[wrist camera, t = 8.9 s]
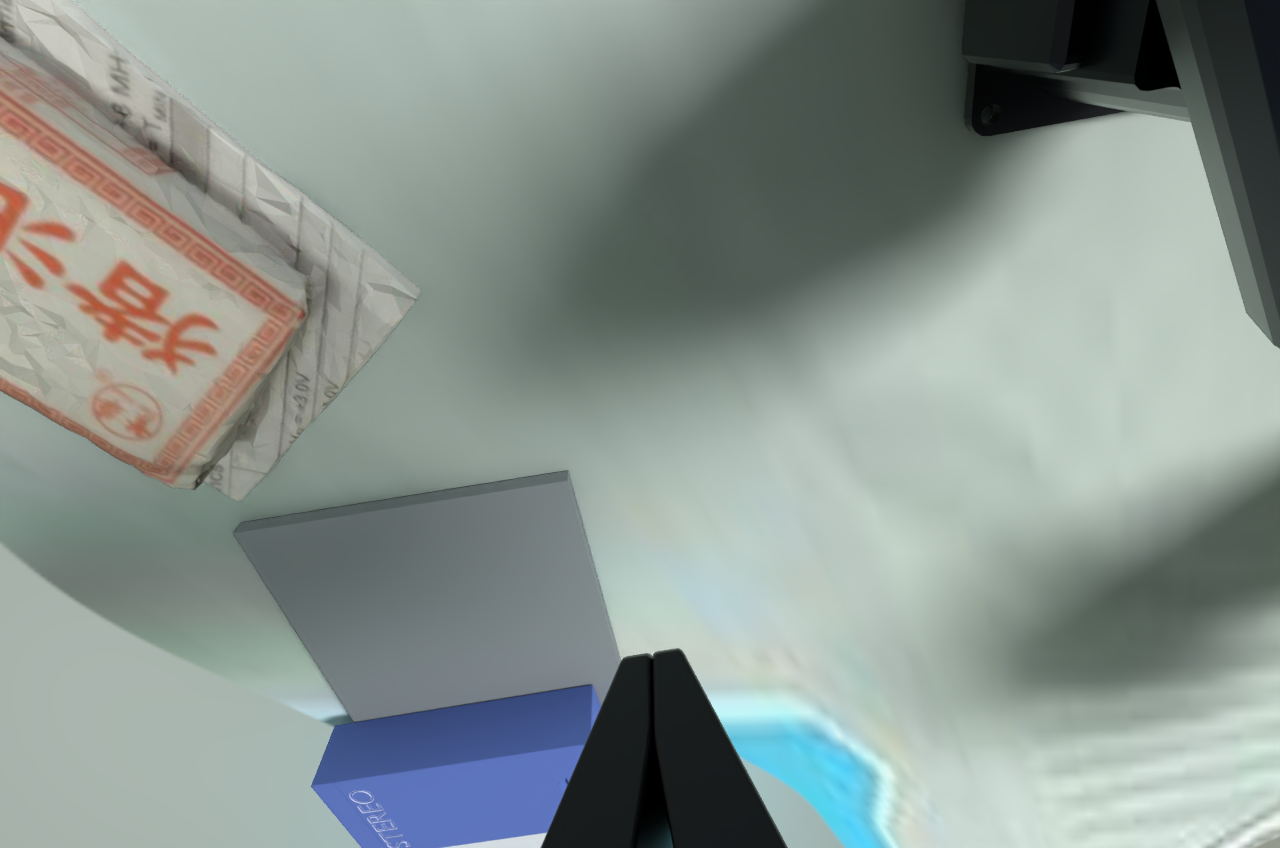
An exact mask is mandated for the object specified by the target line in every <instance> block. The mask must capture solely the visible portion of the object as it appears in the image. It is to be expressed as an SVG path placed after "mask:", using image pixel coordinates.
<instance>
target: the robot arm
mask: <svg viewBox="0 0 1280 848" xmlns="http://www.w3.org/2000/svg"><path fill="white" fill-rule="evenodd" d="M962 55H963V56H964V57H965V58H966V59H967V60H968V61H969V66H968V78H967V91H966V103H965V115H964V118H965V125H966V127H967V128H968V130H969V131H971V132H973V133H975V134H978V135H981V136H992V135H997V134H1003V133H1008V132H1014V131H1019V130H1025V129H1030V128H1036V127H1041V126H1047V125H1052V124H1058V123H1063V122H1069V121H1074V120H1080V119H1085V118H1091V117H1096V116H1102V115H1107V114H1113V113H1118V112H1124V111H1131V112H1136V113H1142V114H1148V115H1153V116H1159V117H1164V118H1170V119H1176V120H1181V121H1187V122H1191V124H1192V127H1193V130H1194V134H1195V137H1196V141H1197V144H1198V148H1199V151H1200V155H1201V158H1202V162H1203V165H1204V168H1205V172H1206V175H1207V179H1208V182H1209V186H1210V189H1211V193H1212V196H1213V200H1214V203H1215V206H1216V210H1217V213H1218V217H1219V220H1220V224H1221V227H1222V231H1223V234H1224V237H1225V241H1226V244H1227V248H1228V251H1229V255H1230V258H1231V262H1232V265H1233V269H1234V272H1235V275H1236V279H1237V282H1238V286H1239V289H1240V293H1241V296H1242V300H1243V303H1244V307H1245V310H1246V313H1247V314H1248V315H1249V317H1250V318H1251V319H1252V320H1253V321H1254V322H1255V324H1256V325H1257V326H1258V327H1259V328H1260V329H1261V331H1262V332H1263V333H1264V334H1265V335H1266V336H1267V337H1268V339H1269V340H1270V341H1271V342H1272V343H1273V344H1274V345H1275V346H1277V347H1278V348H1280V0H966V1H965V14H964V27H963V41H962ZM990 105H992V106H993V110H994V112H993V115H992V118H991V119H990V120H989V121H988V122H986V123H984V124H983V123H982V121H981V115H982V112H983V111H984V109H985V108H986V107H987V106H990ZM541 848H788V847H787V845H786V844H785V842H784V840H783V838H782V836H781V834H780V832H779V830H778V829H777V827H776V825H775V823H774V821H773V819H772V817H771V815H770V813H769V812H768V810H767V808H766V806H765V804H764V802H763V801H762V798H761V797H760V795H759V793H758V791H757V789H756V787H755V785H754V783H753V782H752V780H751V778H750V776H749V774H748V773H747V770H746V769H745V767H744V765H743V763H742V761H741V759H740V757H739V755H738V753H737V752H736V750H735V748H734V746H733V744H732V742H731V740H730V738H729V737H728V735H727V733H726V731H725V729H724V727H723V725H722V724H721V722H720V720H719V718H718V716H717V714H716V712H715V710H714V709H713V707H712V705H711V703H710V701H709V699H708V697H707V695H706V694H705V692H704V690H703V688H702V686H701V684H700V682H699V680H698V679H697V677H696V675H695V673H694V671H693V669H692V667H691V665H690V664H689V662H688V660H687V658H686V656H685V654H684V652H683V651H682V650H681V649H679V648H676V649H670V650H663V651H657V652H655V653H654V654H653V657H652V655H651V654H648V653H645V654H639V655H633V656H627V657H625V658H623V659H622V661H621V662H620V664H619V666H618V669H617V671H616V673H615V676H614V678H613V680H612V683H611V685H610V687H609V690H608V692H607V694H606V697H605V699H604V701H603V704H602V706H601V708H600V711H599V713H598V715H597V718H596V720H595V722H594V725H593V727H592V729H591V731H590V734H589V736H588V738H587V741H586V743H585V745H584V748H583V750H582V752H581V755H580V757H579V759H578V762H577V764H576V766H575V769H574V771H573V773H572V776H571V778H570V780H569V783H568V785H567V787H566V790H565V792H564V794H563V797H562V799H561V801H560V804H559V806H558V808H557V811H556V813H555V815H554V818H553V820H552V822H551V825H550V827H549V829H548V832H547V834H546V836H545V839H544V841H543V843H542V845H541Z"/></svg>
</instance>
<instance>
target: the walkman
mask: <svg viewBox="0 0 1280 848" xmlns="http://www.w3.org/2000/svg"><path fill="white" fill-rule="evenodd" d="M600 708H601V704H600V702H599V699H598V697H597V694H596V691H595V689H594V686H593V685H587V686H581V687H575V688H568V689H562V690H556V691H550V692H543V693H537V694H531V695H524V696H518V697H512V698H506V699H499V700H493V701H487V702H480V703H474V704H468V705H462V706H455V707H449V708H443V709H437V710H430V711H424V712H418V713H411V714H405V715H399V716H393V717H386V718H380V719H374V720H367V721H361V722H355V723H349V724H342V725H336V726H335V727H334V729H333V732H332V734H331V737H330V740H329V742H328V745H327V747H326V750H325V752H324V755H323V757H322V760H321V763H320V765H319V768H318V770H317V773H316V775H315V778H314V780H313V783H312V785H311V787H312V788H313V790H314V791H315V792H316V793H317V794H318V796H319V797H320V798H321V799H322V800H323V802H324V803H325V804H326V805H327V806H328V808H329V809H330V810H331V811H332V812H333V814H334V815H335V816H336V817H337V818H338V820H339V821H340V822H341V823H342V825H343V826H344V827H345V828H346V829H347V831H348V832H349V833H350V834H351V835H352V837H353V838H354V839H355V840H356V842H357V843H358V844H359V845H360V846H361V848H541V845H542V843H543V841H544V839H545V836H546V834H547V832H548V829H549V827H550V825H551V822H552V820H553V818H554V815H555V813H556V811H557V808H558V806H559V804H560V801H561V799H562V797H563V794H564V792H565V790H566V787H567V785H568V783H569V780H570V778H571V776H572V773H573V771H574V769H575V766H576V764H577V762H578V759H579V757H580V755H581V752H582V750H583V748H584V745H585V743H586V741H587V738H588V736H589V734H590V731H591V729H592V727H593V725H594V722H595V720H596V718H597V715H598V713H599V711H600Z"/></svg>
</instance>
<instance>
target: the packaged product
mask: <svg viewBox="0 0 1280 848" xmlns="http://www.w3.org/2000/svg"><path fill="white" fill-rule="evenodd" d="M419 293H420V289H419V288H418V287H417V286H415V285H414V284H413V283H412V282H411V281H409V280H408V279H407V278H406V277H405V276H404V275H403V274H401V273H400V272H399V271H398V270H397V269H396V268H394V267H393V266H392V265H391V264H390V263H389V262H388V261H386V260H385V259H384V258H383V257H382V256H381V255H379V254H378V253H377V252H376V251H375V250H374V249H373V248H371V247H370V246H369V245H368V244H366V243H365V242H364V241H363V240H361V239H360V238H359V237H358V236H356V235H355V234H354V233H353V232H351V231H350V230H349V229H348V228H346V227H345V226H344V225H342V224H341V223H340V222H339V221H337V220H336V219H335V218H334V217H332V216H331V215H330V214H329V213H327V212H326V211H325V210H323V209H322V208H321V207H320V206H318V205H317V204H316V203H315V202H313V201H312V200H311V199H310V198H308V197H307V196H306V195H304V194H303V193H302V192H301V191H299V190H298V189H297V188H295V187H294V186H293V185H291V184H290V183H289V182H287V181H286V180H285V179H283V178H282V177H281V176H279V175H278V174H277V173H275V172H274V171H272V170H271V169H270V168H268V167H267V166H265V165H264V164H263V163H262V162H261V161H260V160H258V159H257V158H256V157H255V156H254V155H252V154H251V153H250V152H249V151H248V150H246V149H245V148H244V147H243V146H242V145H241V144H239V143H238V142H237V141H236V140H235V139H233V138H232V137H231V136H230V135H229V134H228V133H226V132H225V131H224V130H223V129H222V128H220V127H219V126H218V125H217V124H216V123H214V122H213V121H212V120H211V119H210V118H209V117H207V116H206V115H205V114H204V113H203V112H201V111H200V110H199V109H198V108H197V107H196V106H194V105H193V104H192V103H191V102H190V101H188V100H187V99H186V98H185V97H184V96H182V95H181V94H180V93H179V92H178V91H177V90H175V89H174V88H173V87H172V86H171V85H169V84H168V83H167V82H166V81H165V80H164V79H162V78H161V77H160V76H159V75H158V74H156V73H155V72H154V71H152V70H151V69H150V68H149V67H147V66H146V65H145V64H144V63H142V62H141V61H140V60H139V59H137V58H136V57H135V56H134V55H132V54H131V53H130V52H129V51H128V50H127V49H126V48H124V47H123V46H122V45H121V44H120V43H119V42H118V41H117V40H116V39H114V38H113V37H112V36H111V35H110V34H109V33H108V32H107V31H106V30H104V29H103V28H102V27H101V26H100V25H99V24H98V23H97V22H96V21H94V20H93V19H92V18H91V17H90V16H89V15H88V14H87V13H86V12H84V11H83V10H82V9H81V8H80V7H79V6H78V5H77V4H76V3H75V2H73V1H72V0H0V391H1V392H3V393H5V394H6V395H8V396H10V397H12V398H14V399H16V400H18V401H20V402H21V403H23V404H25V405H27V406H29V407H31V408H33V409H34V410H36V411H37V412H39V413H41V414H42V415H44V416H46V417H47V418H49V419H51V420H52V421H54V422H56V423H57V424H59V425H61V426H63V427H64V428H66V429H68V430H70V431H73V432H75V433H77V434H79V435H81V436H83V437H86V438H87V439H88V440H90V441H91V442H92V443H94V444H95V445H96V446H98V447H99V448H101V449H102V450H104V451H106V452H107V453H109V454H110V455H112V456H114V457H115V458H117V459H118V460H120V461H123V462H125V463H127V464H130V465H132V466H134V467H135V468H136V469H138V470H139V471H141V472H142V473H143V474H145V475H146V476H148V477H151V478H154V479H158V480H160V481H162V482H163V483H165V484H166V485H168V486H170V487H171V488H183V489H190V490H195V489H196V488H197V487H198V486H199V485H200V484H201V483H202V482H203V481H204V482H206V483H208V484H209V485H211V486H213V487H215V488H216V489H218V490H219V491H220V492H222V493H223V494H224V495H226V496H228V497H230V498H231V499H233V500H235V501H242V500H243V499H244V498H245V497H246V496H247V495H248V493H249V492H250V491H251V490H252V489H253V488H254V487H255V486H256V485H257V484H258V483H259V482H260V481H261V480H262V479H263V478H264V477H265V476H266V475H267V474H268V473H269V472H270V471H271V470H272V469H273V468H274V467H275V465H276V464H277V463H278V462H279V460H280V459H281V458H282V457H283V455H284V454H285V453H286V452H287V450H288V449H289V448H290V447H291V445H292V444H293V443H294V442H295V440H296V439H297V438H298V437H299V435H300V434H301V433H302V432H303V431H304V430H305V429H306V428H307V427H308V426H309V425H310V424H311V423H312V422H313V421H314V420H315V419H316V417H317V416H318V415H319V414H320V413H321V412H322V411H323V410H324V409H325V408H326V407H327V406H328V405H329V404H330V403H331V402H332V401H333V400H334V399H335V398H336V397H337V395H338V394H339V393H340V392H341V391H342V390H343V389H344V388H345V386H346V385H347V384H348V383H349V382H350V381H351V380H352V378H353V377H354V376H355V375H356V374H357V373H358V372H359V371H360V369H361V368H362V367H363V366H364V365H365V364H366V363H367V361H368V360H369V359H370V358H371V357H372V356H373V355H374V353H375V352H376V351H377V350H378V349H379V348H380V347H381V346H382V344H383V343H384V342H385V341H386V339H387V338H388V337H389V335H390V334H391V333H392V331H393V330H394V329H395V327H396V326H397V325H398V323H399V322H400V321H401V319H402V318H403V317H404V315H405V314H406V313H407V311H408V310H409V309H410V308H411V306H412V305H413V304H414V303H415V301H416V300H417V299H418V296H419Z"/></svg>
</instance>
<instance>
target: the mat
mask: <svg viewBox="0 0 1280 848" xmlns="http://www.w3.org/2000/svg"><path fill="white" fill-rule="evenodd" d="M233 535H234V536H235V538H236V539H237V541H238V543H239V544H240V546H241V547H242V549H243V550H244V552H245V553H246V555H247V557H248V558H249V560H250V561H251V563H252V564H253V566H254V567H255V569H256V571H257V572H258V574H259V575H260V577H261V578H262V580H263V581H264V583H265V584H266V586H267V588H268V589H269V591H270V592H271V594H272V595H273V597H274V598H275V600H276V602H277V603H278V605H279V606H280V608H281V609H282V611H283V612H284V614H285V616H286V617H287V619H288V620H289V622H290V623H291V625H292V626H293V628H294V630H295V631H296V633H297V634H298V636H299V637H300V639H301V640H302V642H303V644H304V645H305V647H306V648H307V650H308V651H309V653H310V654H311V656H312V658H313V659H314V661H315V662H316V664H317V665H318V667H319V668H320V670H321V672H322V673H323V675H324V676H325V678H326V679H327V681H328V682H329V684H330V686H331V687H332V689H333V690H334V692H335V693H336V695H337V696H338V698H339V700H340V701H341V703H342V704H343V706H344V707H345V709H346V710H347V712H348V714H349V715H350V717H351V718H352V720H353V721H354V723H355V722H361V721H367V720H374V719H380V718H386V717H393V716H399V715H405V714H411V713H418V712H424V711H430V710H437V709H443V708H449V707H455V706H462V705H468V704H474V703H480V702H487V701H493V700H499V699H506V698H512V697H518V696H524V695H531V694H537V693H543V692H550V691H556V690H562V689H568V688H575V687H581V686H587V685H593V686H594V689H595V691H596V694H597V697H598V699H599V702H600V704H601V706H602V704H603V701H604V699H605V697H606V694H607V692H608V690H609V687H610V685H611V683H612V680H613V678H614V676H615V673H616V671H617V669H618V666H619V664H620V662H621V659H620V656H619V652H618V648H617V645H616V641H615V638H614V634H613V630H612V627H611V623H610V619H609V616H608V612H607V609H606V605H605V601H604V598H603V594H602V591H601V587H600V583H599V580H598V576H597V573H596V569H595V565H594V562H593V558H592V555H591V551H590V547H589V544H588V540H587V536H586V533H585V529H584V526H583V522H582V518H581V515H580V511H579V508H578V504H577V500H576V497H575V493H574V490H573V486H572V482H571V479H570V475H569V471H562V472H556V473H549V474H543V475H537V476H531V477H524V478H518V479H512V480H505V481H499V482H493V483H487V484H480V485H474V486H468V487H462V488H455V489H449V490H443V491H436V492H430V493H424V494H418V495H411V496H405V497H399V498H392V499H386V500H380V501H374V502H367V503H361V504H355V505H349V506H342V507H336V508H330V509H323V510H317V511H311V512H305V513H298V514H292V515H286V516H280V517H273V518H267V519H261V520H254V521H248V522H242V523H240V525H239V526H238V527H237V529H236V530H235V531H234V533H233Z"/></svg>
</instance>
